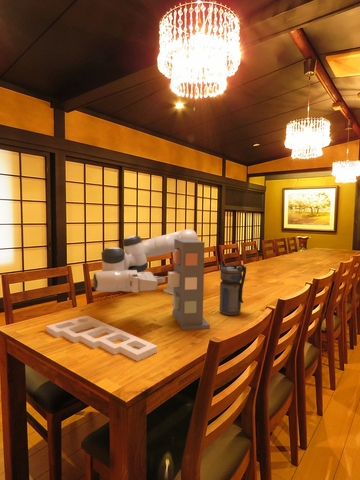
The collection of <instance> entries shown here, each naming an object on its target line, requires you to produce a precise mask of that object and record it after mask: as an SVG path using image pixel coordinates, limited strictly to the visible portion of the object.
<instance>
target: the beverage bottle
mask: <svg viewBox="0 0 360 480" xmlns="http://www.w3.org/2000/svg"><path fill="white" fill-rule="evenodd" d="M225 264H226V263H225V260H222V261H221V263H220V265H219V272H220V276H219V277H220V280H221V281H220V285H219V286H220V287H219V311H220V313H221V314H223V315H226V316H237V315H240V313H241V311H242V310H241V307H242V304H243V303H244V300H243V288H244V284H245V283H244V282H245V279H246V274H247V267H246V266H245V265H244V264H242V263H241V264H239V263H238V264H230V265H225Z"/></svg>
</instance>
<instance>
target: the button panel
mask: <svg viewBox="0 0 360 480" xmlns="http://www.w3.org/2000/svg"><path fill="white" fill-rule="evenodd" d="M205 244H206V243H205V241H202V240H199V239H198V240H195V239H174V249H180V264H175V263H174V262H173V272H180V287H174V294H176V293H178V294H179V309H178V310H175V309H174V307H173V306H172V307H173V308H172V315H173V317H174V318H175V320H176V322H177V323H178V325H179V326H180V329H182V331H193V330H194V331H195V330H208V329H210V328H211V325H210V324H209V322H208V321H207V320H206V319H205V318H204V281H205V278H204V277H205V274H204V273H205V246H206V245H205Z"/></svg>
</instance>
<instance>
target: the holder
mask: <svg viewBox="0 0 360 480" xmlns="http://www.w3.org/2000/svg"><path fill="white" fill-rule="evenodd" d="M90 328H91V329H90ZM87 329H88V330H87ZM84 330H85V331H84ZM77 332H78V333H77ZM46 333H48V334H49V335H51V336H53V337H54V338H56V339H57V338H60V337H61V338H62V337H64V338H65V339H67V340H68V341H70V342H72V343H74V344H76V343H79V342H81V343H83V344H85V345H86V346H88V347H90V348H92V349H96V348H101V349H103V350H105V351H107V352H108V353H111V354H112V355H118V354H120V353H121V354H122V355H124V356H125V357H128V358H129V359H132V360H133V361H135V360H136V362H139V361H141V359H142V360H143V359H146V358H148V357H150V356H153V355H155V354H157V353H158V345H156V344H154V343H152V342H149V341H147V340H145V339H142V338H141V337H138V336H135V335H133V334H132V333H129V332H126V331H124V330H122V329H120V328H117V327H115V326H112V325H110V324H108V323H106V322H102V321H101V320H99V319H96V318H94V317H91V316H89V315H82V316H78V317H75V318H72V319H67V320H64V321H61V322H57V323H53V324H50V325H46ZM102 334H106V335H103V336H100V335H102ZM97 336H100V337H97ZM95 337H97V338H95ZM119 340H120V341H121V342H118V343H115V341H119ZM135 347H136V348H138V349H136V348H135ZM156 352H157V353H156ZM154 353H155V354H154ZM152 354H153V355H152Z"/></svg>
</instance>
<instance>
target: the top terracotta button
mask: <svg viewBox="0 0 360 480" xmlns="http://www.w3.org/2000/svg"><path fill="white" fill-rule="evenodd" d="M172 261H173V264H174V263H175V264H180V249H174V251H173V259H172Z"/></svg>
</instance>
